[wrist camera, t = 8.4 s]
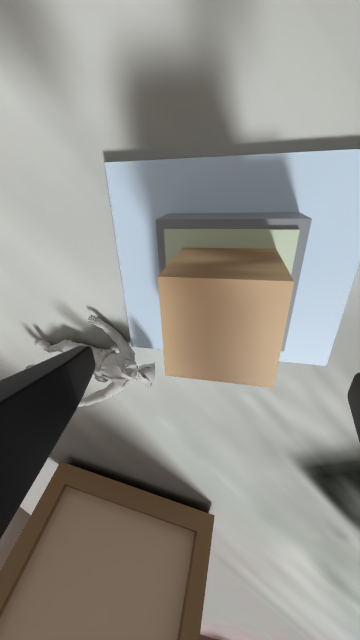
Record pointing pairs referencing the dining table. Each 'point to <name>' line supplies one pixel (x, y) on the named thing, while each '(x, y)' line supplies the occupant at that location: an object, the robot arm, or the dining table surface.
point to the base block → (237, 238)
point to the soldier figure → (108, 363)
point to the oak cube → (224, 314)
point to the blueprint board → (244, 197)
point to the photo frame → (105, 565)
